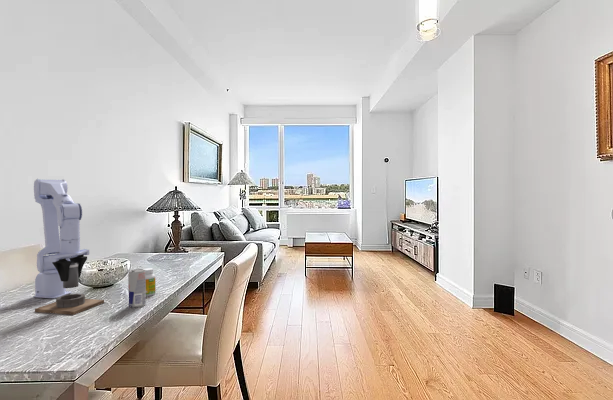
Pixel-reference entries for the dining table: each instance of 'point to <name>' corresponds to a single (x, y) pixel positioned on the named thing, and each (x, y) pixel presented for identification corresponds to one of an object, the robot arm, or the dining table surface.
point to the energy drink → (137, 288)
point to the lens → (72, 276)
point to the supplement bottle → (150, 281)
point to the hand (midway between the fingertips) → (70, 279)
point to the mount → (70, 304)
